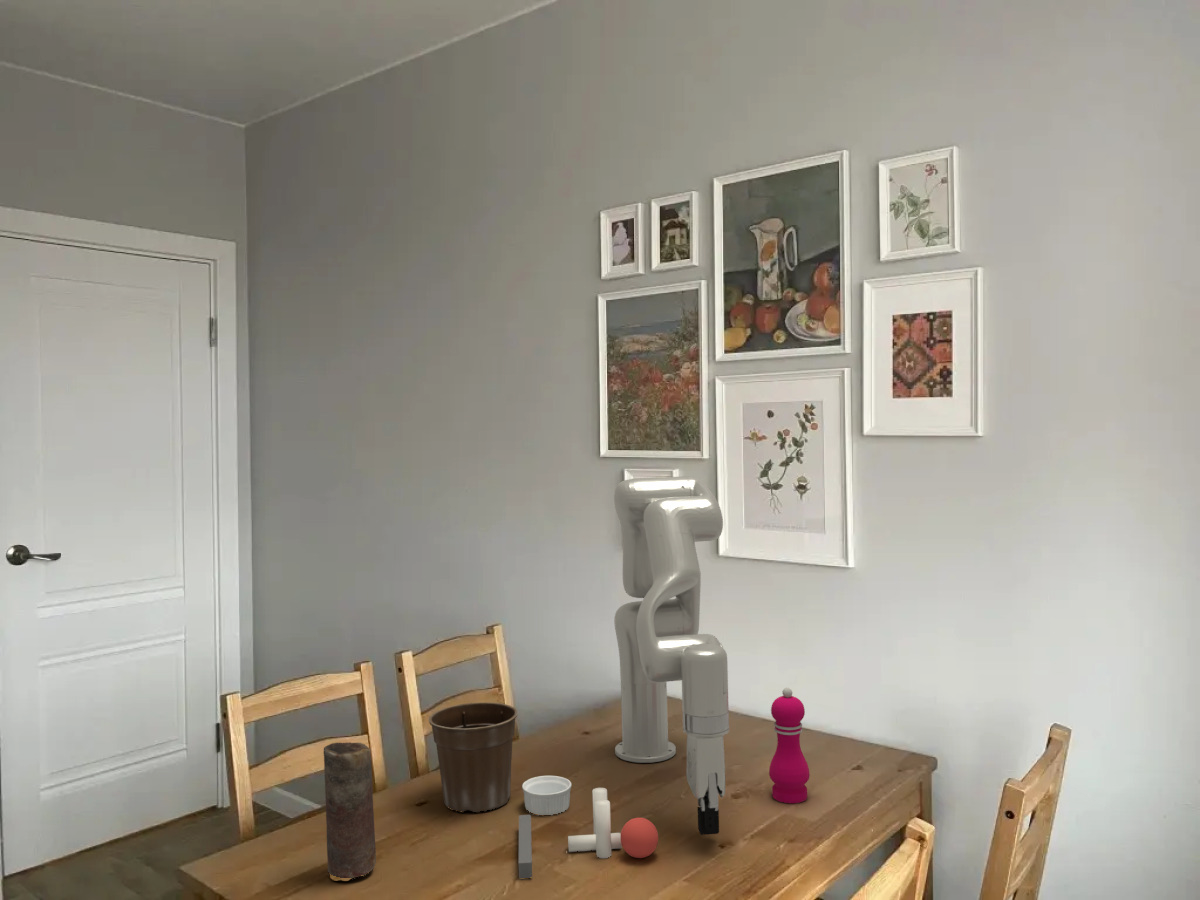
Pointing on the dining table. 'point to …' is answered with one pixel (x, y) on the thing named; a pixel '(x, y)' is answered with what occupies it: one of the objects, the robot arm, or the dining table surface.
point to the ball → (639, 837)
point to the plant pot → (475, 754)
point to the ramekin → (546, 794)
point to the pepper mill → (788, 750)
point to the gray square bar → (525, 847)
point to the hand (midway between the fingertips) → (708, 832)
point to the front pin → (591, 842)
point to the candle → (349, 809)
